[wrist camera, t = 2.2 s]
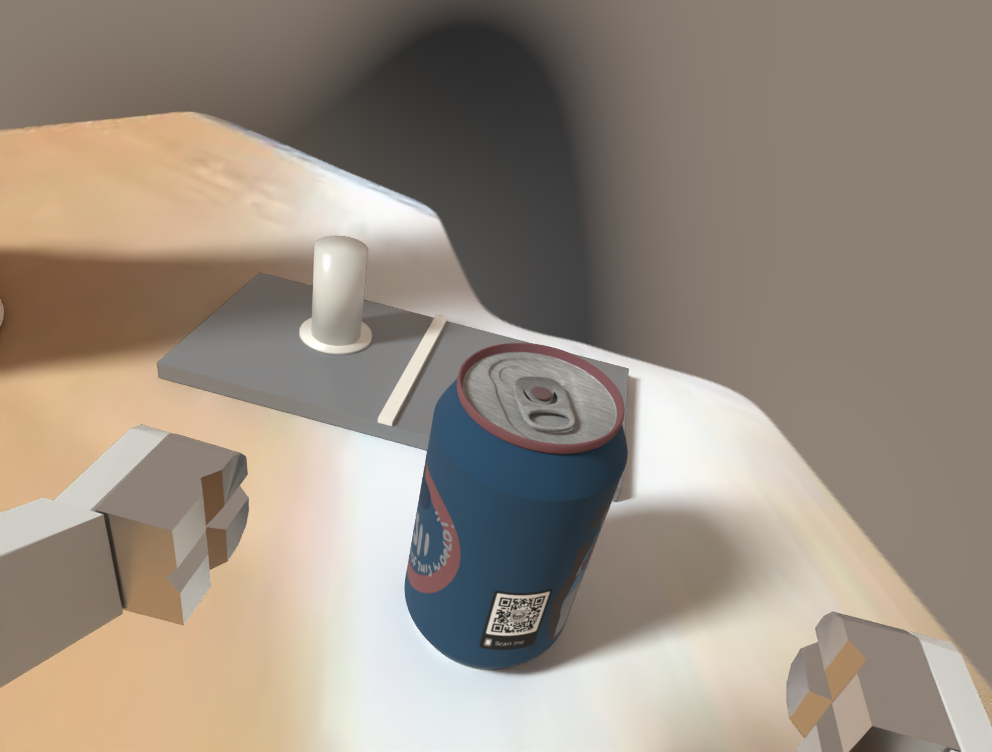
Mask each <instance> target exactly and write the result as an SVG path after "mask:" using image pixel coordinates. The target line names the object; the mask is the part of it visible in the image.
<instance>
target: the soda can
mask: <svg viewBox="0 0 992 752" xmlns="http://www.w3.org/2000/svg"><path fill="white" fill-rule="evenodd" d="M624 414H625V408H624V402H623V399H622V396H621V394H620V392H619V390H618V389H617V387H616V386H615V384H614V383H613V382H612V381H611V380H610V379H609V378H608V377H607V376H606V375H605V374H604V373H603V372H602V371H600V370H599V369H598V368H597V367H595V366H594V365H592V364H590V363H589V362H587V361H585V360H583V359H582V358H580V357H578V356H575V355H573V354H571V353H568V352H565V351H563V350H559V349H556V348H552V347H549V346H544V345H538V344H531V343H505V344H498V345H493V346H490V347H487V348H484V349H481V350H479V351H477V352H475V353H474V354H472V355H471V356H470V357H468V358H467V359H466V360H465V362H464V363H463V364H462V366H461V368H460V370H459V373H458V377H457V379H456V380H455V381H454V382H453V383H452V384H451V385H450V386H449V387H448V388H447V389H446V390H445V392H444V393H443V394H442V395H441V397H440V398H439V400H438V401H437V404H436V406H435V409H434V414H433V420H432V426H431V432H430V437H429V443H428V449H427V455H426V461H425V467H424V473H423V478H422V484H421V490H420V496H419V502H418V508H417V514H416V520H415V525H414V531H413V537H412V543H411V549H410V555H409V561H408V567H407V572H406V578H405V598H406V603H407V606H408V610H409V612H410V615H411V617H412V619H413V621H414V623H415V624H416V626H417V628H418V629H419V630H420V632H421V633H422V634H423V636H424V637H425V638H426V639H427V640H428V641H429V642H430V643H431V644H432V645H433V646H434V647H435V648H436V649H437V650H439V651H440V652H441V653H442V654H444V655H445V656H446V657H448V658H450V659H451V660H453V661H455V662H457V663H460V664H462V665H465V666H468V667H472V668H478V669H499V668H505V667H511V666H515V665H518V664H521V663H524V662H527V661H529V660H531V659H533V658H535V657H537V656H538V655H540V654H541V653H543V652H544V651H545V650H547V649H548V648H549V647H550V646H551V645H552V644H553V643H554V642H555V640H556V639H557V638H558V636H559V635H560V633H561V631H562V629H563V627H564V625H565V622H566V619H567V617H568V614H569V612H570V609H571V606H572V604H573V601H574V598H575V596H576V593H577V591H578V588H579V585H580V583H581V580H582V578H583V575H584V572H585V570H586V567H587V565H588V562H589V559H590V557H591V554H592V551H593V549H594V546H595V544H596V541H597V538H598V536H599V533H600V531H601V528H602V525H603V523H604V520H605V518H606V515H607V512H608V510H609V507H610V505H611V502H612V499H613V497H614V494H615V491H616V489H617V486H618V484H619V481H620V478H621V476H622V473H623V471H624V468H625V465H626V461H627V443H626V438H625V433H624V429H623V425H622V422H623V419H624Z"/></svg>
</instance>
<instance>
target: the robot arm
mask: <svg viewBox="0 0 992 752" xmlns="http://www.w3.org/2000/svg"><path fill="white" fill-rule="evenodd" d="M3 317H4V307H3V304H2V301H1V299H0V326H1V324H2V321H3ZM247 475H248V472H247V460H246V456H244V455H243V454H241V453H239V452H236V451H232V450H229V449H226V448H222V447H219V446H216V445H212V444H209V443H205V442H202V441H199V440H195V439H192V438H189V437H185V436H182V435H178V434H173V433H169V432H166V431H163V430H159V429H156V428H152V427H149V426H146V425H142V424H141V425H139V426H136V427H133V428H131V429H129V430H128V431H127V432H126V433H125V434H124V435H123V436H122V437H120V438H119V439H118V440H117V441H116V442H115V443H114V444H113V445H112V446H111V447H110V448H109V449H108V450H107V451H106V452H105V453H103V454H102V455H101V456H100V457H99V458H98V459H97V460H96V461H95V462H94V463H93V464H92V465H91V466H90V467H89V468H87V469H86V470H85V471H84V472H83V473H82V474H81V475H80V476H79V477H78V478H77V479H76V480H75V481H74V482H73V483H71V484H70V485H69V486H68V487H67V488H66V489H65V490H64V491H63V492H62V493H61V494H60V495H59V496H58V497H57V498H56V499H54V500H51V499H47V498H40V499H38V500H35V501H32V502H29V503H26V504H24V505H21V506H18V507H15V508H12V509H10V510H7V511H4V512H1V513H0V688H1V687H2V686H4V685H6V684H7V683H9V682H11V681H12V680H14V679H16V678H17V677H19V676H21V675H22V674H24V673H26V672H27V671H29V670H30V669H32V668H34V667H35V666H37V665H39V664H40V663H42V662H44V661H45V660H47V659H49V658H50V657H52V656H54V655H55V654H57V653H59V652H60V651H62V650H63V649H65V648H67V647H68V646H70V645H72V644H73V643H75V642H77V641H78V640H80V639H82V638H83V637H85V636H87V635H88V634H90V633H92V632H93V631H95V630H96V629H98V628H100V627H101V626H103V625H105V624H106V623H108V622H110V621H111V620H113V619H115V618H116V617H118V616H120V615H121V614H122V613H123V610H126V611H130V612H134V613H138V614H142V615H146V616H150V617H154V618H157V619H161V620H165V621H169V622H173V623H177V624H181V625H184V624H185V623H186V621H187V620H188V618H189V617H190V616H191V614H192V613H193V611H194V610H195V608H196V607H197V605H198V604H199V602H200V601H201V600H202V598H203V597H204V595H205V594H206V592H207V591H208V589H209V588H210V586H211V585H210V570H211V569H213V568H215V567H217V566H219V565H221V564H223V563H225V562H227V561H228V560H229V558H230V557H231V555H232V554H233V552H234V551H235V549H236V547H237V546H238V544H239V542H240V539H241V537H242V534H243V532H244V529H245V527H246V523H247V517H248V512H249V498H248V496H247V495H246V494H245V492H244V491H243V490H242V488H241V487H240V484H241V483H242V482H243V480H244V479H245V477H246V476H247ZM815 630H816V634H817V639H818V642H817V643H814V644H812V645H809V646H806V647H804V648H801V649H800V651H799V653H798V654H797V656H796V657H795V659H794V661H793V662H792V664H791V668H790V672H789V676H788V680H787V706H788V713H789V719H790V720H791V721H792V723H793V724H794V725H795V727H796V728H797V729H798V731H799V732H800V733H801V735H802V736H803V737H804V739H803V740H802V742H801V743H800V745H799V746H798V748H797V749H796V751H795V752H992V725H991V723H990V721H989V718H988V716H987V714H986V711H985V709H984V707H983V704H982V702H981V700H980V697H979V695H978V693H977V690H976V688H975V686H974V683H973V681H972V679H971V676H970V674H969V672H968V669H967V667H966V665H965V662H964V660H963V658H962V655H961V653H960V652H959V650H958V649H957V648H956V647H955V646H954V645H953V644H952V643H951V642H948V641H944V640H941V639H937V638H933V637H929V636H925V635H921V634H917V633H914V632H907V631H905V630H902V629H898V628H894V627H890V626H887V625H883V624H879V623H875V622H871V621H867V620H863V619H859V618H856V617H852V616H848V615H844V614H840V613H836V612H831V613H829V614H827V615H825V616H824V617H823V618H822V619H821V621H820V622H819V624H818V625H817V626H816V628H815Z"/></svg>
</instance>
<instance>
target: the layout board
mask: <svg viewBox="0 0 992 752" xmlns="http://www.w3.org/2000/svg"><path fill="white" fill-rule="evenodd" d="M367 255H368V248H367V246H366V245H365V244H364V243H362V242H361V241H359V240H356V239H354V238H350V237H345V236H328V237H323V238H321V239H319V240H317V241H316V242H315V245H314V271H313V286H310V285H306V284H302V283H298V282H294V281H290V280H287V279H283V278H279V277H275V276H271V275H267V274H263V273H258V274H257V275H256V276H255V277H254V278H253V279H252V280H250V281H249V282H248V283H247V284H246V285H245V286H244V287H242V288H241V289H240V290H239V291H238V292H237V293H236V294H234V295H233V296H232V297H231V298H230V299H229V300H228V301H227V302H225V303H224V304H223V305H222V306H221V307H220V308H219V309H217V310H216V311H215V312H214V313H213V314H212V315H211V316H209V317H208V318H207V319H206V320H205V321H204V322H203V323H201V324H200V325H199V326H198V327H197V328H196V329H195V330H194V331H192V332H191V333H190V334H189V335H188V336H187V337H186V338H184V339H183V340H182V341H181V342H180V343H179V344H178V345H176V346H175V347H174V348H173V349H172V350H171V351H170V352H168V353H167V354H166V355H165V356H164V357H163V358H162V359H160V360H159V361H158V362H157V369H158V377H159V378H162V379H166V380H170V381H173V382H177V383H181V384H184V385H188V386H192V387H195V388H199V389H203V390H207V391H210V392H214V393H218V394H221V395H225V396H229V397H232V398H236V399H240V400H243V401H247V402H251V403H254V404H258V405H262V406H265V407H269V408H273V409H276V410H280V411H284V412H287V413H291V414H295V415H299V416H302V417H306V418H310V419H313V420H317V421H321V422H324V423H328V424H332V425H335V426H339V427H343V428H346V429H350V430H354V431H357V432H361V433H365V434H368V435H372V436H376V437H379V438H383V439H387V440H391V441H394V442H398V443H402V444H405V445H409V446H413V447H416V448H420V449H424V450H427V449H428V443H429V437H430V432H431V426H432V420H433V414H434V409H435V406H436V404H437V401H438V400H439V398H440V397H441V395H442V394H443V393H444V392H445V390H446V389H447V388H448V387H449V386H450V385H451V384H452V383H453V382H454V381H455V380H456V379H457V377H458V373H459V370H460V368H461V366H462V364H463V363H464V362H465V360H466V359H467V358H468V357H470V356H471V355H472V354H474V353H475V352H477V351H479V350H481V349H484V348H487V347H490V346H493V345H498V344H505V343H528V342H525V341H521V340H517V339H513V338H509V337H505V336H502V335H498V334H494V333H490V332H486V331H482V330H479V329H475V328H471V327H467V326H463V325H459V324H455V323H452V322H448V321H447V318H448V317H444V316H440V315H436V316H435V318H432V317H429V316H425V315H421V314H417V313H413V312H409V311H406V310H402V309H398V308H394V307H390V306H386V305H383V304H379V303H375V302H371V301H367V300H364V290H365V279H366V267H367ZM531 344H532V343H531ZM573 355H575V354H573ZM575 356H578V355H575ZM578 357H580V358H582V359H583V360H585V361H587V362H589V363H590V364H592V365H594V366H595V367H597V368H598V369H599V370H600V371H602V372H603V373H604V374H605V375H606V376H607V377H608V378H609V379H610V380H611V381H612V382H613V383H614V384H615V386H616V387H617V389H618V390H619V392H620V394H621V396H622V399H623V402H624V408H625V414H624V419H623V422H622V425H623V429H624V433H625V422H626V405H627V389H628V373H629V369H628V368H624V367H621V366H617V365H613V364H609V363H605V362H601V361H598V360H594V359H590V358H586V357H582V356H578ZM621 486H622V476H621V478H620V481H619V484H618V486H617V489H616V491H615V494H614V497H613V499H612V501H615V502H616V501H617V498H618V496H619V493H620V491H621Z"/></svg>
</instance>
